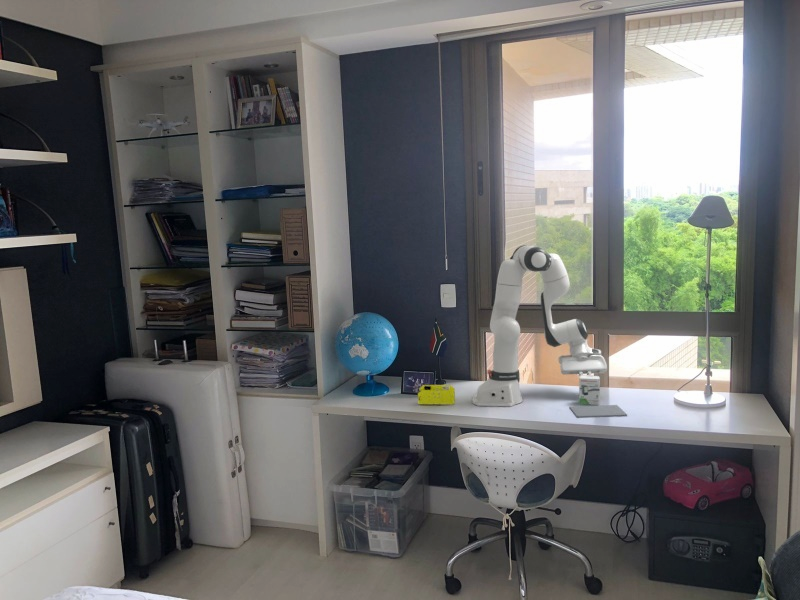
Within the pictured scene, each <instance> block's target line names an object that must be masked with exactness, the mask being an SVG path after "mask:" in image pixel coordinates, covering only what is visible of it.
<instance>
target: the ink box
mask: <svg viewBox="0 0 800 600" xmlns="http://www.w3.org/2000/svg"><path fill="white" fill-rule="evenodd" d="M578 379H579V382H578V388H579V389H578V390H579V391H578V392H579V394H578V396H579V397H578V399H579V400H578V403H579V405H588V404H591V405H590V406H599V405H600V404H601V403H600V401H601V396H600V395H601V389H600V388H601V381H600V380H601V378H600V376H599V375H590V376H588V375H587V374H583V375H581V376H579V378H578Z"/></svg>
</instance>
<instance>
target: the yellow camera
mask: <svg viewBox="0 0 800 600" xmlns="http://www.w3.org/2000/svg"><path fill="white" fill-rule="evenodd" d="M455 391H456V389H455V387H453V385H451V384H423V385H422V386H420V387H419V392H418V393H417V400H418V401H417V403H418V405H425V406H427V405H433V406H434V405H439V406H441V405H445V406H448V405H449V406H450V405H455V402H456V396H455Z"/></svg>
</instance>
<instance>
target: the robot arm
mask: <svg viewBox="0 0 800 600" xmlns="http://www.w3.org/2000/svg"><path fill="white" fill-rule="evenodd" d="M527 271H528V272H539V274H540V275H541V279H542V281H543V292H541V294H540V305H541V306H540V307H541V313H542V320H543V321H542V322H543V326H544V327H543V328H544V331H543V332H544V333H543V335H544V339H545V342H546V343H547V345H549V346H550V347H554V348H556V347H559V346H562V345H566V344H568V346H569V354H567V355H566V354H565V355H561V356H559V357H558V363H559V365H560V373H561V374H562V375H566V376H567V375H578V376H579V377H580V376H581V375H586V376H592V374H606V372H607V371H608V364H607V361H606V359H605V357H604V356H603V355H602V350H601V349H597V348H593V347H590V345H588V337H589V333H588V330H587V326H586V324H585V322H584V321H583V320H581V319H579V318H573V319H570V320H566V321H562V322H559V323H553V317H552V310H551V308H552V306H553V305H554V304H555V303H556V302H557V301H558V300H559V299H561V298H562V297H563V296H565V295H566V294H567V292H568V291H569V290H570V285H571V284H570V278H569V274H568V272H567V268H566V266H565V264H564V262H563V260H562V258H561V257H560V256H559V254H557V253H554V252H552V253H551V252H549V253H548V252H547V251H546V250H545V249H543V248H541V247H538V246H535V245H531V244H530V245H524V244H523V245H520V246H518V247H517V248H516V249H515V250H514V251H513V254H512V255H511V256H510V258H509V259H505V260H503V261H502V262H501V264H500V266H499V271H498V274H497V279H496V287H495V289H496V290H495V295H494V296H495V297H494V304H493V306H492V310H491V316H490V323H489V329H490V331H491V333H492V334H493V336H494V341H493V352H492V370H491V369H488V370H487V371H486V373H487V375H488V379H487V380H485V381H484V382H483V383H481V384H480V385H479V386H478V388H477V391H476V395H474V396H473V397H472V399H471V400H472V401H471V402H472V403H473V405H475V406H477V407H513V406H514V405H517V404H520V403H522V402H524V399H523V397H522V394H521V388H520V379H521V377H520V369H519V345H520V335H521V326H520V323H519V322H518V321H517V320H516V318H517V314H518V310H519V306H520V304H521V299H522V290H523V289H522V288H523V278H524V276H525V273H526V272H527Z"/></svg>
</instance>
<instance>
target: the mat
mask: <svg viewBox="0 0 800 600" xmlns="http://www.w3.org/2000/svg"><path fill="white" fill-rule="evenodd" d="M569 409H570V410H571V411H572V413H573V414H574V415H575V417H576V418H578V419H579V418H601V417H602V418H607V417H627V416H628V413H626V412H625V411H624V410H623V409H622V408H621V407H620V406H619V405H618V404H607V405H606V404H605V405H603V404H602V405H600V404H599V405H575V406H571V405H570V406H569Z"/></svg>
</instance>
